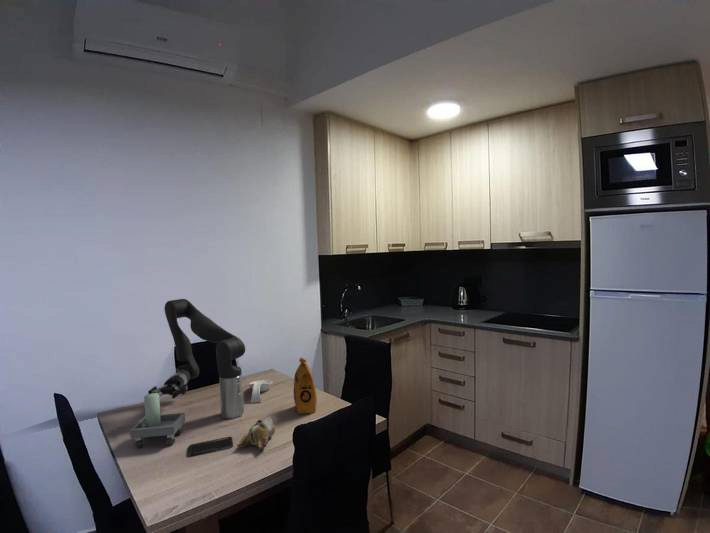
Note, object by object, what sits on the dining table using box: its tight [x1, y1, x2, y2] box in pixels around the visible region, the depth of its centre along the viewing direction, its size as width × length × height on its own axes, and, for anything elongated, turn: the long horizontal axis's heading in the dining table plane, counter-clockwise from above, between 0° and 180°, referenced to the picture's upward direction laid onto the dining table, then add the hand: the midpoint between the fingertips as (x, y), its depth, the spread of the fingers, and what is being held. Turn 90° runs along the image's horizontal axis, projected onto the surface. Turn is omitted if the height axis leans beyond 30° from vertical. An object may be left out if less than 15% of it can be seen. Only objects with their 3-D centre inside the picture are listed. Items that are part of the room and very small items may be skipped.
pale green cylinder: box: [143, 393, 161, 428], centre depth 141 cm, size 5×5×12 cm
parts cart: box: [129, 412, 186, 449], centre depth 141 cm, size 15×12×8 cm
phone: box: [187, 436, 234, 457], centre depth 135 cm, size 8×1×15 cm
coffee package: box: [293, 357, 318, 415], centre depth 166 cm, size 10×12×22 cm
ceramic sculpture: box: [236, 415, 276, 451], centre depth 137 cm, size 11×9×15 cm
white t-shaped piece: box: [248, 379, 273, 404], centre depth 187 cm, size 24×12×7 cm, turn 8°
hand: (161, 397), depth 150 cm, fingers open, 8 cm apart
